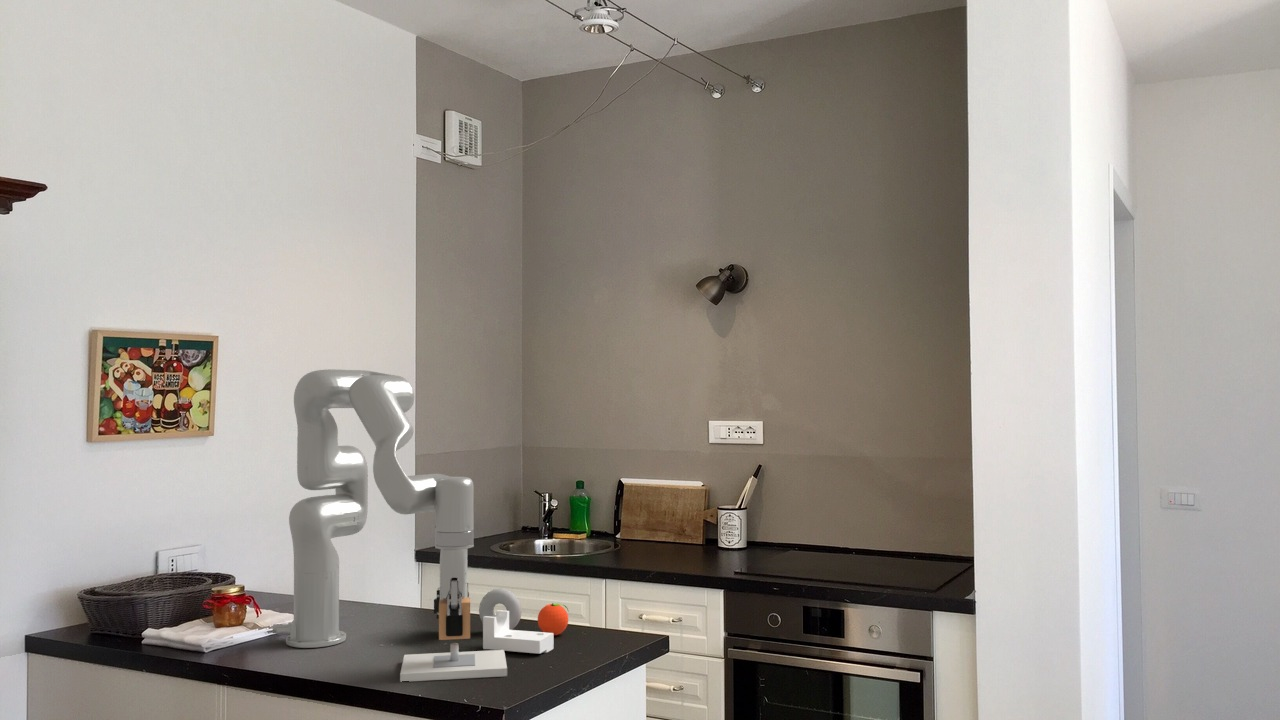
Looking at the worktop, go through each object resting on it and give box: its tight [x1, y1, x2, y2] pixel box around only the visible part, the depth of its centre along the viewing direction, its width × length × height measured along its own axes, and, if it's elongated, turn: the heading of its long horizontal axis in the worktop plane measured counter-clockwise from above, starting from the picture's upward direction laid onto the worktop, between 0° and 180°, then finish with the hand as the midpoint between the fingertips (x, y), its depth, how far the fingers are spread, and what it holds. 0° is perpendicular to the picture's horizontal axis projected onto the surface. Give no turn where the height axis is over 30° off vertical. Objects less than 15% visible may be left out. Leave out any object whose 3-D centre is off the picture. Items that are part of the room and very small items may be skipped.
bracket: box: [482, 609, 555, 654], centre depth 211 cm, size 13×7×8 cm, turn 71°
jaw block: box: [438, 597, 471, 641], centre depth 197 cm, size 6×5×7 cm
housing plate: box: [399, 642, 508, 683], centre depth 197 cm, size 20×14×5 cm
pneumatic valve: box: [433, 582, 470, 620], centre depth 224 cm, size 6×12×12 cm, turn 174°
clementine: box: [537, 603, 570, 636], centre depth 224 cm, size 8×7×7 cm
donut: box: [478, 588, 522, 630], centre depth 226 cm, size 10×3×10 cm, turn 78°
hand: (454, 631), depth 197 cm, fingers closed on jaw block, 4 cm apart
